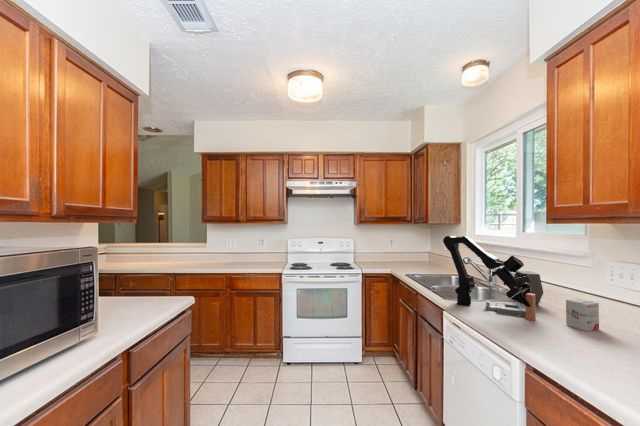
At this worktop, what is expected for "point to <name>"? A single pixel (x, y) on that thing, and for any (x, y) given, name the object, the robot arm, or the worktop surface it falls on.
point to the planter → (533, 283)
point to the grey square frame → (511, 308)
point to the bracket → (490, 306)
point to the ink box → (582, 314)
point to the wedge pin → (532, 309)
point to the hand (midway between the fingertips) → (533, 304)
